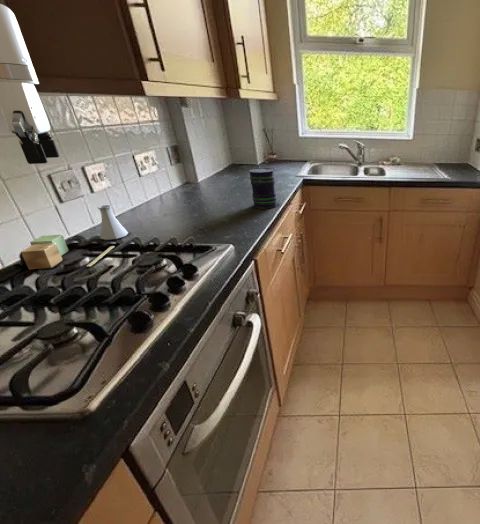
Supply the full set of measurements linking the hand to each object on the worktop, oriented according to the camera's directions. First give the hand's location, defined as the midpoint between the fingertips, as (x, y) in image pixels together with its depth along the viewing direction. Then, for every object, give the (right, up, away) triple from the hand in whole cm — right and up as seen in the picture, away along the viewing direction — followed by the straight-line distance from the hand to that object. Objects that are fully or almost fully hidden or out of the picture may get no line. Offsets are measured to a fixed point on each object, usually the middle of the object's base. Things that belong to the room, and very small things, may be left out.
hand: (44, 160), depth 76 cm
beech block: (-11, -24, +12) cm, 29 cm away
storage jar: (+30, +1, +67) cm, 73 cm away
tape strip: (-1, -22, +17) cm, 28 cm away
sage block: (-15, -21, +17) cm, 31 cm away
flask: (-8, -15, +31) cm, 36 cm away
